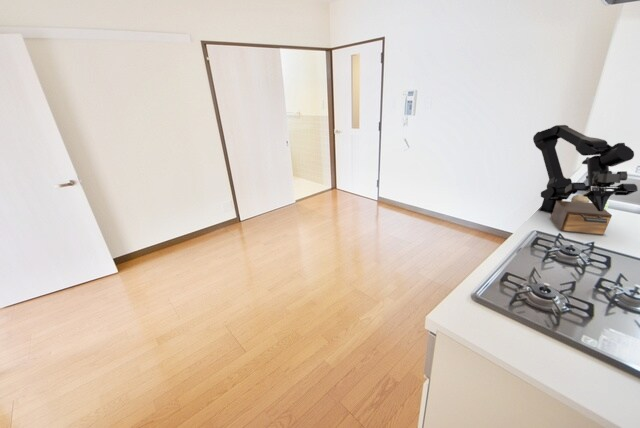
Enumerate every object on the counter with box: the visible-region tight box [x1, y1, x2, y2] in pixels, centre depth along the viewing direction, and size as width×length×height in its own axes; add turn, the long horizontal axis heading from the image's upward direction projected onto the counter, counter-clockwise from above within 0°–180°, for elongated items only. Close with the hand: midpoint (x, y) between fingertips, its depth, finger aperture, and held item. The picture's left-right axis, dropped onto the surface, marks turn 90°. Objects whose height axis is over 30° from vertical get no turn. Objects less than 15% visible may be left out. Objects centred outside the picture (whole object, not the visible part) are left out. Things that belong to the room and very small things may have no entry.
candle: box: [570, 193, 590, 203], centre depth 121 cm, size 6×6×10 cm
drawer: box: [563, 214, 612, 235], centre depth 109 cm, size 15×12×8 cm
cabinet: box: [550, 200, 613, 236], centre depth 113 cm, size 12×14×9 cm
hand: (600, 211), depth 102 cm, fingers closed
